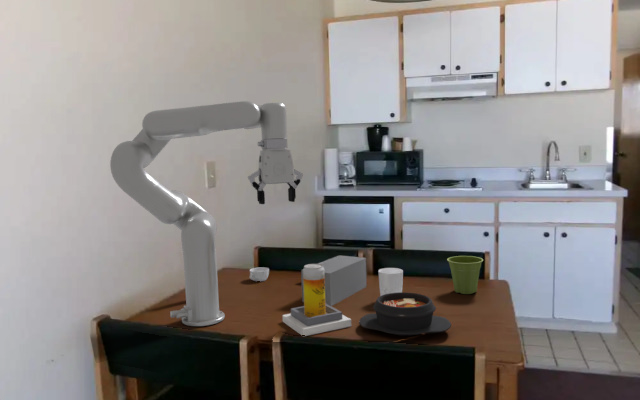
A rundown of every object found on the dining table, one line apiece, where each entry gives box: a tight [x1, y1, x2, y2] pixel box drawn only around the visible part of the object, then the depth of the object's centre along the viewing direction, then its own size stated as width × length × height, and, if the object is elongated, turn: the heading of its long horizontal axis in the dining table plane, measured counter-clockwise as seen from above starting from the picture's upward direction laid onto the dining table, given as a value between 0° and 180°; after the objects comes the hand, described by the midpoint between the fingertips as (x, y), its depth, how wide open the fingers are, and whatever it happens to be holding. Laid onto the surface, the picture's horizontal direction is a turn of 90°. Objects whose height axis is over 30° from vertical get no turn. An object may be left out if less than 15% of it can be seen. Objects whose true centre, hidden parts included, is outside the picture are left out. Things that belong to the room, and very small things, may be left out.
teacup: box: [249, 266, 270, 282], centre depth 199 cm, size 10×10×5 cm
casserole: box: [358, 291, 452, 337], centre depth 142 cm, size 25×19×8 cm
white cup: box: [377, 267, 404, 297], centre depth 168 cm, size 8×8×10 cm
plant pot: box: [446, 255, 484, 295], centre depth 176 cm, size 12×12×11 cm
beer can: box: [303, 263, 326, 317], centre depth 148 cm, size 6×6×15 cm
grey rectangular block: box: [300, 255, 367, 307], centre depth 181 cm, size 25×23×11 cm
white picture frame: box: [282, 303, 352, 337], centre depth 148 cm, size 15×14×4 cm
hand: (276, 202), depth 155 cm, fingers open, 9 cm apart
